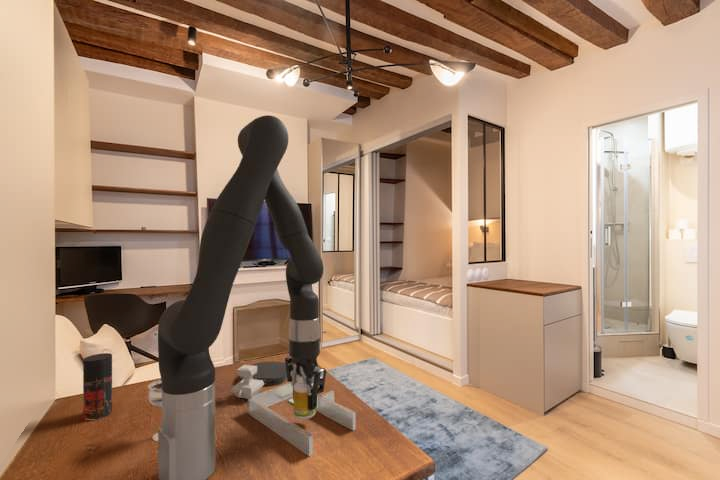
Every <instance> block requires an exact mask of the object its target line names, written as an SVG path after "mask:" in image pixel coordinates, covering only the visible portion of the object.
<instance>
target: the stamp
mask: <svg viewBox="0 0 720 480" xmlns="http://www.w3.org/2000/svg"><path fill="white" fill-rule="evenodd" d="M236 371H237V374H238V376H239V378H240V377H243V378H244V379H243V380H242V381H240V380H239V382H237V383H236V384H234V385H233V386H232V387H231V393H232V394H233V395H234V396H236V398H241V399H246V400H247V398H248V397H251V396H254V395H256V394H259V393H260V392H261V390H262V389H263V387H264V386H265V385H264V382H263V381H262V380H257V379H253V378H252V377H253V375H254V374H256V373H257V366H253V365H252V364H243V365H242V366H240V367H239V368H238V369H236Z"/></svg>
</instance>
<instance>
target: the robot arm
mask: <svg viewBox="0 0 720 480" xmlns="http://www.w3.org/2000/svg"><path fill="white" fill-rule="evenodd" d="M288 145H289V133H288V130H287V127H286V125H285V124H284V122H283V121H282V120H281V119H280V118H278V117H277V116H274V115H268V114H267V115H262V116H259V117H256V118H254V119H252V121H250V122H249V123H248V124H246V125H245V126H243V128H242V129H240V131H239V133H238V135H237V146H238V150H239V152H240V154H241V157H242V158H240V159H241V160H240V162H239V164H238V166H237V169H236V170H235V172H234V173H233V175H232V176H231V178H230V179H229V180H228V182H227V183H226V184H225V186H223V189H222V190H221V192H220V193H219V195H218V197H217V198H216V200H215V202H214V203H213V205H212V207H211V210H210V212H209V215H208V217H207V219H206V222H205V223H204V224H205V225H204V227H203V231H202V232H201V233H202V234H201V238H200V244H199V251H198V252H199V253H198V261H197V263H198V264H197V269H196V273H195V277H194V279H193V283H192V284H191V287H190V289H189V291H188V293H187V296H186V297H185V299H182V300H179V301H178V300H177V301H175V302H173V303H171V304H170V305H168V306H167V307H166V308H165V309H164V310H163V313H162V314H161V316H160V317H159V321H158V327H157V353H158V355H157V356H158V370H159V375H160V379H161V380H162V408H161V426H159V427H158V428H157V429H158V431H157V433H158V441H157V442H158V444H157V445H158V447H157V448H158V449H157V450H158V453H157V454H158V455H157V458H158V459H157V462H158V463H157V464H158V466H157V468H158V470H157V472H158V476H157V478H158V479H159V480H207V479H209V477H211V475H212V474H213V473H214V471H215V469H216V369H215V365H214V363H213V360H212V357H211V355H210V349H209V348H210V347H211V346H212V345H214V343H215V341H216V340H217V339H218V337H219V334H220V332H221V330H222V326H223V322H224V319H225V315H226V310H227V307H228V302H229V299H230V295H231V291H232V289H233V286H234V282H235V280H236V277H237V275H238V272H239V269H240V267H241V264H242V262H243V260H244V257H245V253H246V251H247V248H248V246H249V244H250V241H251V238H252V236H253V233H254V231H255V228H256V225H257V222H258V220H259V215H260V213H261V210H262V207H263V205H264V202H265V204H266V206H267V209H268V212H269V215H270V217H271V220H272V222H273V226H274V229H275V232H276V234H277V238H278V240H279V242H280V245H281V247H282V248H283V249H285V250H286V251H287V252H288V253H289V255H290V259H288V261H287V264H286V266H285V267H286V268H285V280H286V285H287V290H288V291H287V292H288V295H289V301H290V303H289V325H288V355H289V356H287V357H285V358H284V361H285V362H284V363H285V364H286V374H287V378H286V380H287V383H289V382H291V385H292V387H293V397H292V398H293V401H294V384H295V383H296V382H297V380H296V375H297V374H299V375H301V376H302V377H303V382H304V385H305V386H306V387H307V391H308V410H310V411H311V410H313V409H315V408H316V407H317V396H318V395H319V394H321V393H324V391H325V385H326V384H325V383H326V375H327V369H326V368H325V367H323V368H321V367H319V364H318V361H317V359H318V357H319V356H320V353H321V324H320V302H319V301H320V300H319V297H318V295H317V294H316V293H315V291H314V289H313V285H315V284H317V283H318V282H319V281H320V280H321V279H322V277H323V276H324V264H323V263H324V262H323V259H322V257H321V255H320V253H319V251H318V249H317V247H316V246H315V243H314V242H313V240H312V238H311V237H310V235H309V233H308V229H307V225H306V223H305V222H306V221H305V220H304V217H303V214H302V211H301V209H300V207H299V205H298V203H297V202H296V200H295V198H294V197H293V195H292V194H291V193H290V191H289V190H288V189H287V187H286V185H285V184H284V182H283V180H282V178H281V176H280V173H279V171H278V167H279V165H280V163H281V161H282V159H283V158H284V155H285V154H286V151H287V149H288ZM291 372H292V373H291ZM312 377H313V379H312V380H310V381H308V379H310V378H312ZM312 383H313V389H312V388H311V384H312Z"/></svg>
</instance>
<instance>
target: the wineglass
mask: <svg viewBox="0 0 720 480" xmlns="http://www.w3.org/2000/svg"><path fill="white" fill-rule="evenodd" d="M147 388H148V389H149V391H148V394H147V399H148V401H149V403H151V404H152V405H153V406H155V407H160V408H161V409H162V380H161V378H160V379H157V380H154V381H152V382H151V383H149V384H148V386H147ZM152 440H153V441H155V442H158V432H156V433H154V434H153V436H152Z"/></svg>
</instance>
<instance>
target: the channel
mask: <svg viewBox="0 0 720 480" xmlns="http://www.w3.org/2000/svg"><path fill="white" fill-rule="evenodd" d="M317 396H318V408H317V412H318V413H319V414H321V415H323V416H325V417H326V418H328V419H330V420H332V421H334V422H335V423H338V424H340V425H341V426H343V427H345V428H347V429H349V430H351V431H355V430H356V428H357V427H356V426H357V420H356V419H357V414H356V413H357V412H356V411H353V410H352V409H350V408H348V407H346V406H343V405H342V404H340V403H337V402H335V391H334V390H329V391H328V392H326V393H323V394H321V395H317ZM292 398H293V387H292V385H291V382H287V383H284V384H281V385H279V386H275V387H273V388H271V389H268V390H265V391H262V392H259V393H258V394H256V395H254V396H251V397H248V398H247V399H246V400H247V401H246V402H247V403H246V404H247V410H246V411H247V414H248V415H250V416H251V417H252V418H254V419H255V420H256V421H258V422H259V423H261V424H262V425H264V426H265V427H266V428H268V429H269V430H271V431H272V432H274V434H276V435H278V437H281V438H282V439H283V440H285V441H286V442H287V443H289V444H291V445H292V446H294V447H295V448H296V449H298V450H299V451H300V452H302V454H303V453H304V454H305V456H308V457H311V456H313V454H314V436H313V434H311V433H310V432H308V431H306V430H305V429H303V428H302V427H301V426H299V425H297V424H295V423H294V422H292V421H290V419H288V418H286V417H284V416H283V415H281V414H279V413H278V412H276V411H275V410H273V409H271V408H270V407H271V406H273V405H276V404H279V403H281V402H283V401H286V400H289V399H292Z"/></svg>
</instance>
